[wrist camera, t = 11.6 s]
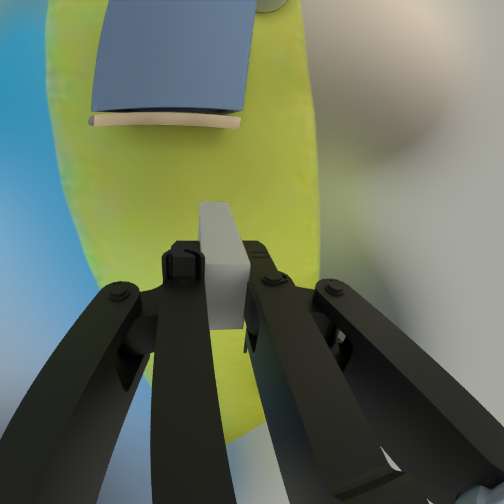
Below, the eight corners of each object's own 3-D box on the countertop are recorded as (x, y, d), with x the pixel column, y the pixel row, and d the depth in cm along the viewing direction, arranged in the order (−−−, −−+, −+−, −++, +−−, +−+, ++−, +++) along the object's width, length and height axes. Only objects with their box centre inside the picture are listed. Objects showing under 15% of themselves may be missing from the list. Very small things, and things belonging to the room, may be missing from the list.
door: (117, 115, 30) (87, 115, 20) (228, 118, 33) (240, 117, 23) (117, 123, 30) (86, 127, 21) (227, 126, 33) (239, 129, 24)
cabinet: (135, 33, 25) (109, -1, 14) (237, 34, 28) (257, -1, 17) (125, 112, 31) (90, 111, 19) (227, 113, 34) (242, 110, 22)
